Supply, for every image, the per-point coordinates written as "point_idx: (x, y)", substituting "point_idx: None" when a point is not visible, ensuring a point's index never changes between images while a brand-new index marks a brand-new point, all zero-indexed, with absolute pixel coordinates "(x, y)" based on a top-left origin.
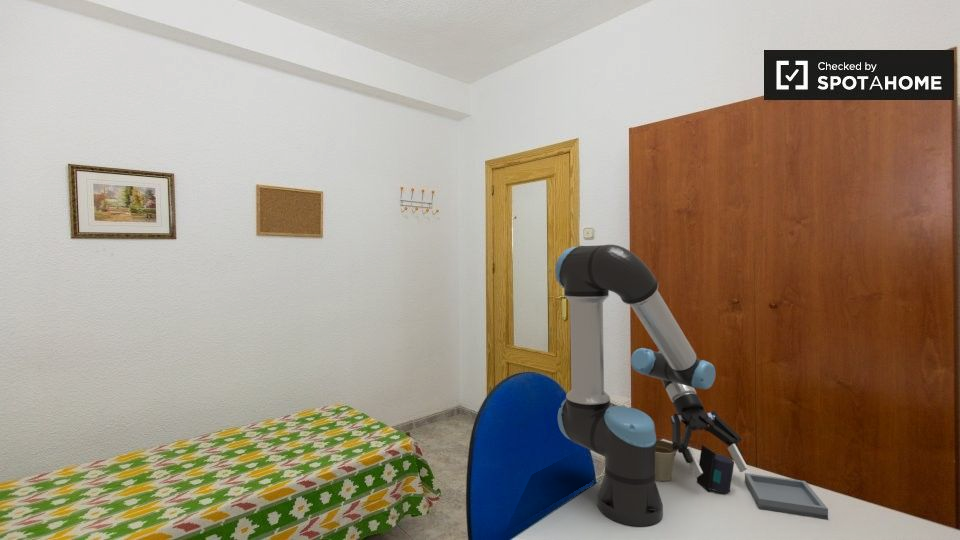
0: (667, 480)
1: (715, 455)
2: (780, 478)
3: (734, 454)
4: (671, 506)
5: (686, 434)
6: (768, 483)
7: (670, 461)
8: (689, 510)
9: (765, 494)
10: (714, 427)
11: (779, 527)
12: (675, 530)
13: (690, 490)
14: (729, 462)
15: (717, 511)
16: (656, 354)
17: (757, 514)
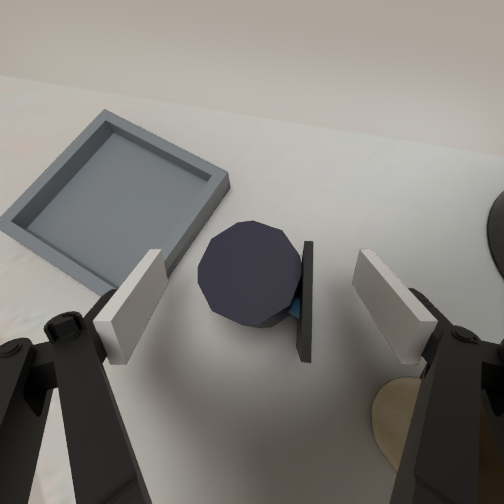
0: (399, 378)
1: (258, 301)
2: (49, 253)
3: (140, 307)
4: (450, 238)
5: (475, 419)
6: (94, 269)
7: None
8: (410, 214)
9: (166, 218)
10: (118, 475)
11: (247, 126)
12: (482, 156)
13: (351, 304)
14: (244, 228)
15: (341, 197)
16: None
17: (253, 170)
